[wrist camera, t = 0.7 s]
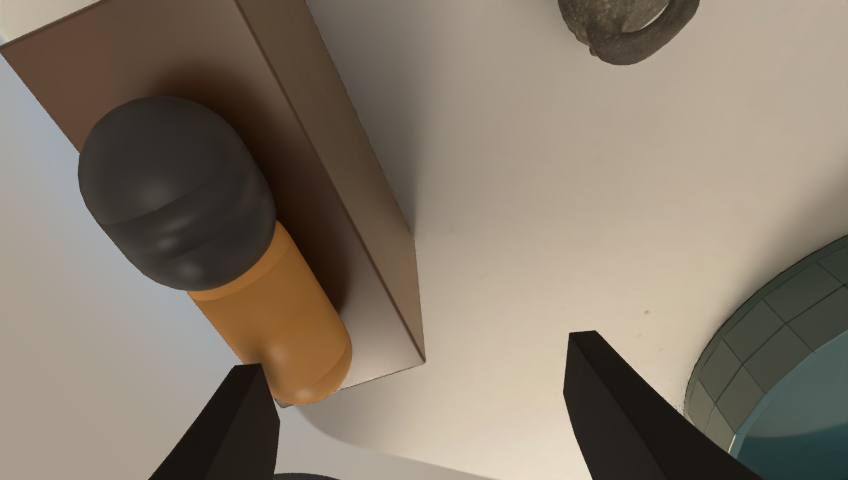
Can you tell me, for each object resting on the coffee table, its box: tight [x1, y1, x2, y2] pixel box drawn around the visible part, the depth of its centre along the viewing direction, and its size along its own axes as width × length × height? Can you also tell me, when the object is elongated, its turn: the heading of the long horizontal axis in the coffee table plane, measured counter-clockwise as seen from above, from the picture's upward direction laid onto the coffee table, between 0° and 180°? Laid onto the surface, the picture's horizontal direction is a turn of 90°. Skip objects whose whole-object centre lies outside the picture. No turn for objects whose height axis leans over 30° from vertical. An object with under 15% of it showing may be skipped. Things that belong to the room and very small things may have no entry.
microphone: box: [78, 96, 352, 405], centre depth 12 cm, size 9×3×3 cm, turn 20°
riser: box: [0, 0, 426, 408], centre depth 17 cm, size 12×5×7 cm, turn 20°
